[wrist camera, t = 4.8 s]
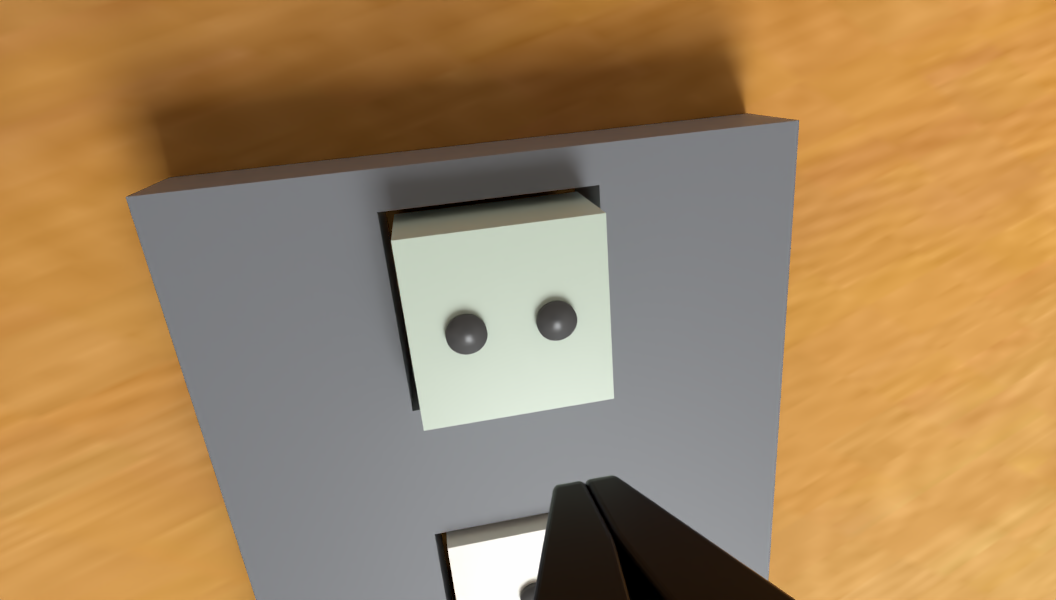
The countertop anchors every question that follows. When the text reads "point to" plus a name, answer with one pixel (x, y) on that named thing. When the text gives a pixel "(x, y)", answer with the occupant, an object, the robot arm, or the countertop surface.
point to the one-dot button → (497, 559)
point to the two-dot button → (505, 306)
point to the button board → (386, 368)
